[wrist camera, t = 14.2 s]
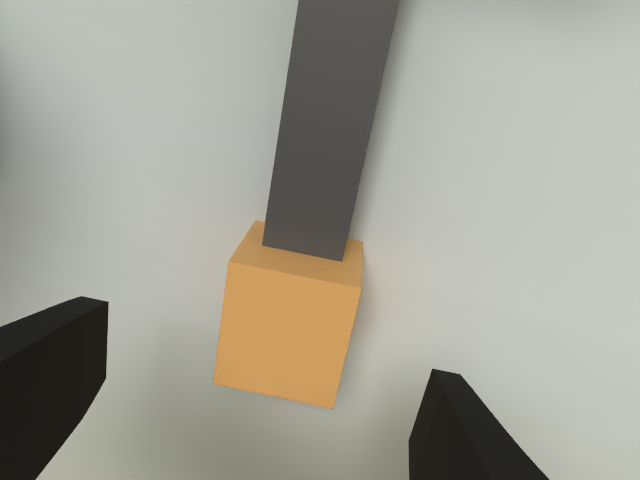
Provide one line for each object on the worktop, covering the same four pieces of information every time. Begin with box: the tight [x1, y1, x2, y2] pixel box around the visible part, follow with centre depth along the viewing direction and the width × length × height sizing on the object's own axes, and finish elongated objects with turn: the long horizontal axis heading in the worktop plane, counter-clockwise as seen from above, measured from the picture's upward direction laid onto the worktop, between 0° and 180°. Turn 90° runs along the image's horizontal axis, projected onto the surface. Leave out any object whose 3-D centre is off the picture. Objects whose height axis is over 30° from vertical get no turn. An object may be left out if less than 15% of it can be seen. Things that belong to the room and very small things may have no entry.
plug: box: [213, 0, 399, 409], centre depth 14 cm, size 14×4×4 cm, turn 170°
